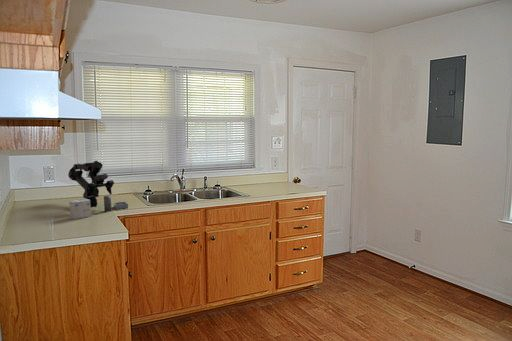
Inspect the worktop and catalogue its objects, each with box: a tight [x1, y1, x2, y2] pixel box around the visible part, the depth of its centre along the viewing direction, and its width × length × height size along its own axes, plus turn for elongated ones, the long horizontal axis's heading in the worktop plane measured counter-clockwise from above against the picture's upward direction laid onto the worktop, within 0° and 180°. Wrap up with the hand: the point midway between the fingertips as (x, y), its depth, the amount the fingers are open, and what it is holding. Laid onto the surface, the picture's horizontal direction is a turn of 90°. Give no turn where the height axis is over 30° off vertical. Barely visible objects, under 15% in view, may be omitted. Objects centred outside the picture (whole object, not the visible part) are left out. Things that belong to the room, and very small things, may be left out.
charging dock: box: [113, 201, 129, 210], centre depth 278 cm, size 8×8×3 cm
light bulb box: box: [68, 198, 92, 220], centre depth 252 cm, size 11×7×11 cm, turn 141°
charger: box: [103, 195, 112, 213], centre depth 268 cm, size 4×4×10 cm
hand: (104, 195), depth 269 cm, fingers open, 9 cm apart
